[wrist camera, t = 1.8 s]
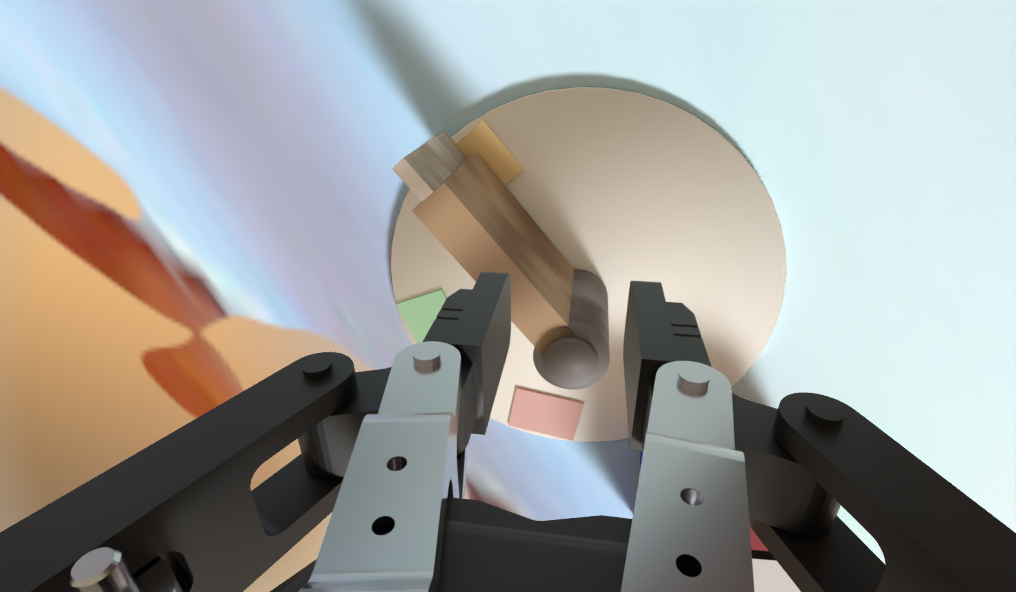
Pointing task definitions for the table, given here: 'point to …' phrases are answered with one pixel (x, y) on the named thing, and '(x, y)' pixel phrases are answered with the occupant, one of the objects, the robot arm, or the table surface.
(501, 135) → the disc
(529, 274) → the peg lever
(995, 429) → the table surface
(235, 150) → the table surface
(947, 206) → the table surface
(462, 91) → the table surface
